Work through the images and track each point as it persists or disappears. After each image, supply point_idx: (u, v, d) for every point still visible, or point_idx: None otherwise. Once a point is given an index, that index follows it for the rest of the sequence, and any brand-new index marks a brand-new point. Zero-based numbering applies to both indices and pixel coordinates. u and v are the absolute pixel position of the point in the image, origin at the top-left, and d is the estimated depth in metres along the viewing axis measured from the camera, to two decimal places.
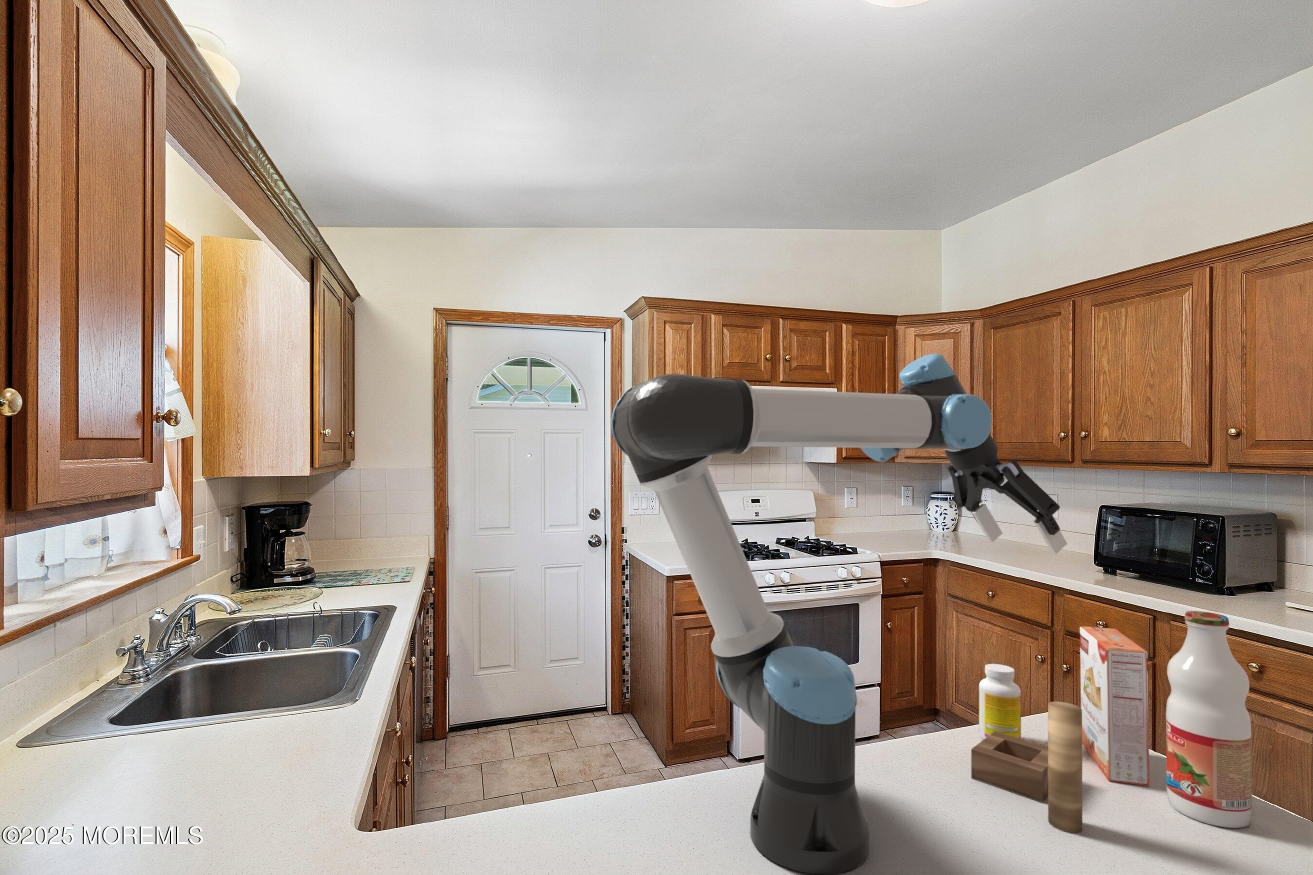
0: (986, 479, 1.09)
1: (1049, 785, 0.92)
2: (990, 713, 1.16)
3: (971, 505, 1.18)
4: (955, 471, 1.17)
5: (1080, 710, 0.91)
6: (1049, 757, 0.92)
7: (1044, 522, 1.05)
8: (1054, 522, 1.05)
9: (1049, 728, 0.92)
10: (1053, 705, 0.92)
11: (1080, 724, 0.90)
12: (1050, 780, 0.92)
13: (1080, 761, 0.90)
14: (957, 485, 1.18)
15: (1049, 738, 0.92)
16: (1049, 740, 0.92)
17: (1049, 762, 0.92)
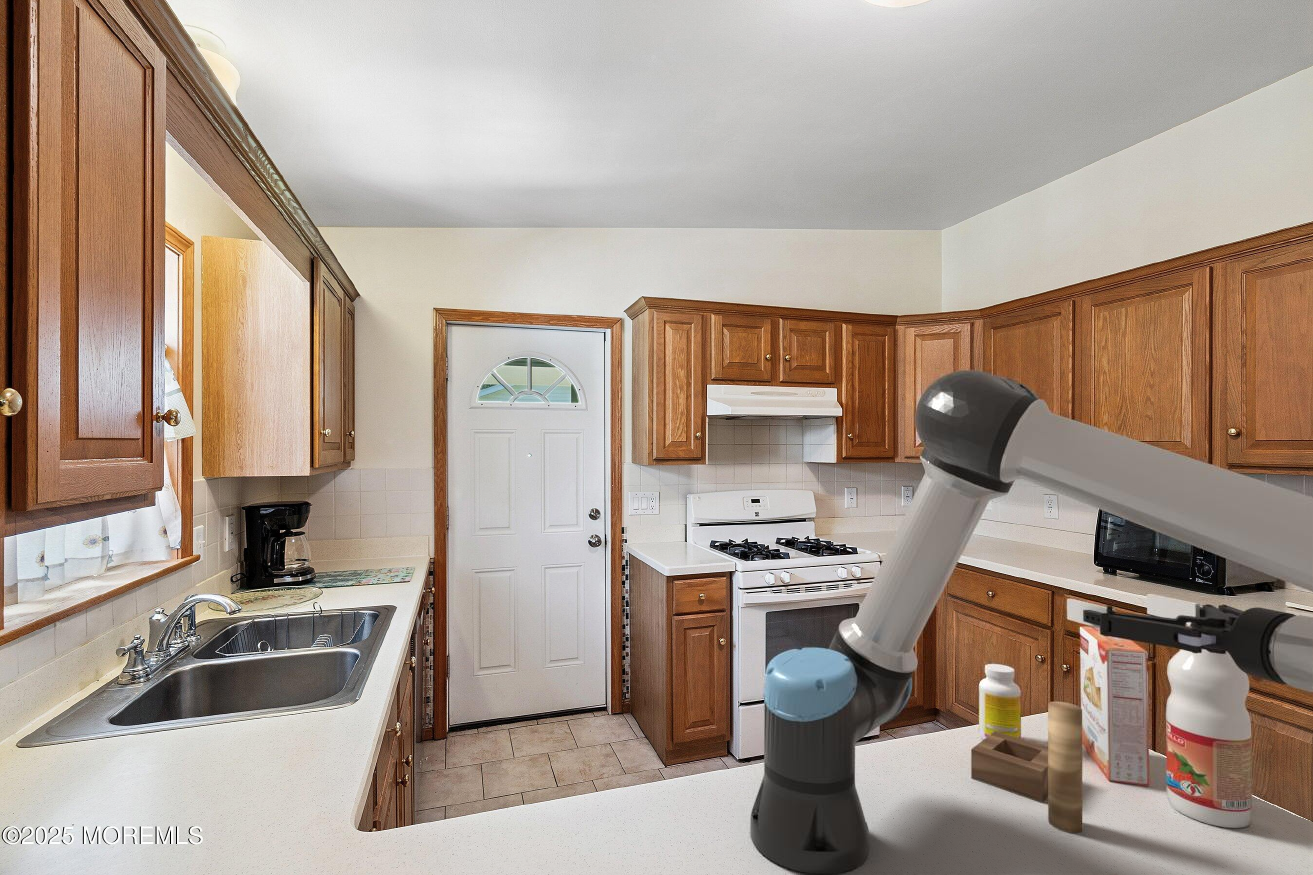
0: (1211, 618, 0.76)
1: (1049, 785, 0.92)
2: (990, 713, 1.16)
3: (1207, 608, 0.85)
4: None
5: (1081, 710, 0.91)
6: (1049, 757, 0.92)
7: None
8: (1093, 621, 0.84)
9: (1049, 728, 0.92)
10: (1053, 705, 0.92)
11: (1080, 724, 0.90)
12: (1050, 780, 0.92)
13: (1080, 761, 0.90)
14: None
15: (1049, 738, 0.92)
16: (1049, 740, 0.92)
17: (1049, 762, 0.92)
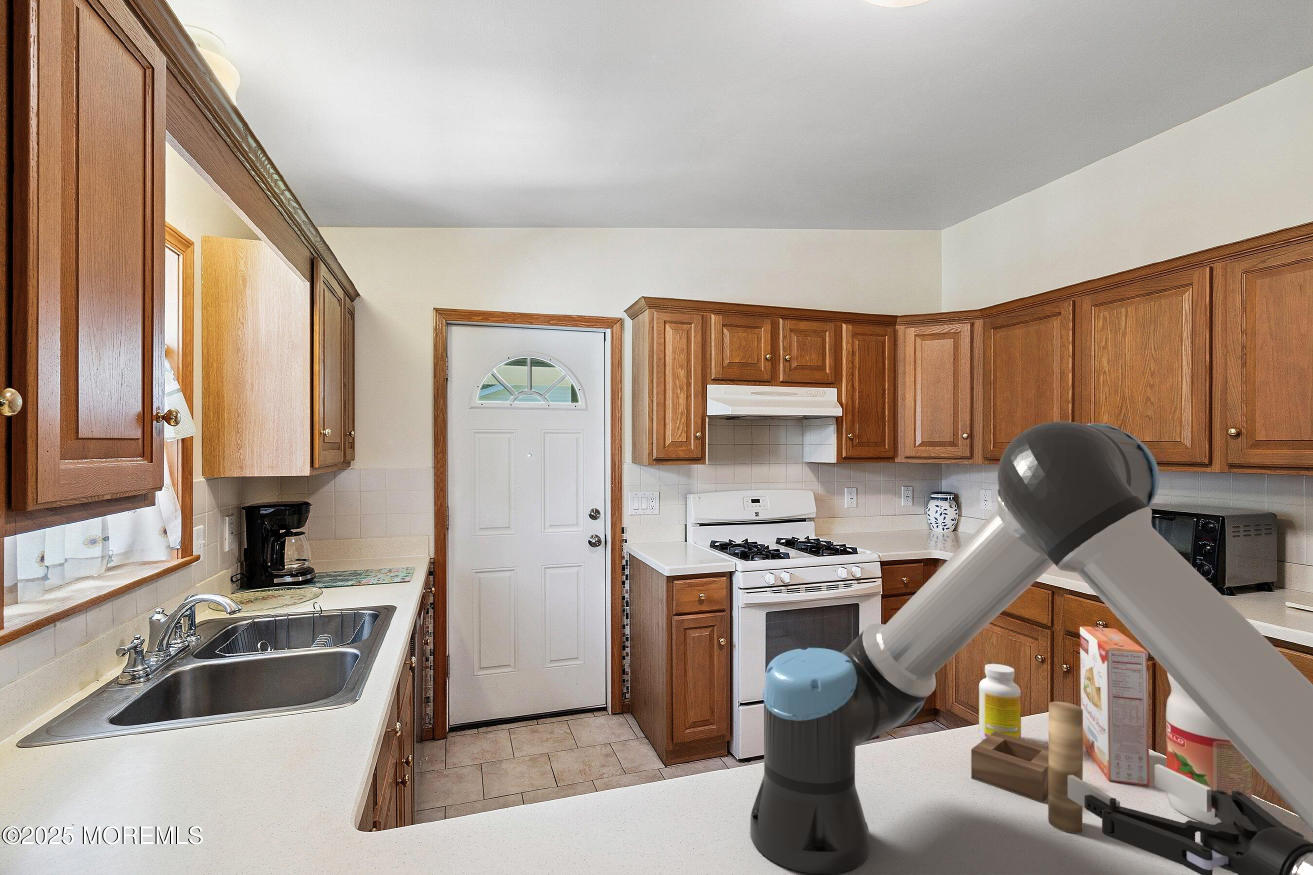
0: (1223, 831, 0.70)
1: (1049, 785, 0.92)
2: (990, 713, 1.16)
3: (1219, 797, 0.78)
4: None
5: (1081, 710, 0.90)
6: (1049, 757, 0.92)
7: (1106, 805, 0.77)
8: (1095, 811, 0.78)
9: (1050, 728, 0.92)
10: (1054, 705, 0.92)
11: (1081, 724, 0.90)
12: (1050, 780, 0.92)
13: (1081, 761, 0.90)
14: (1263, 815, 0.74)
15: (1050, 738, 0.92)
16: (1050, 740, 0.92)
17: (1049, 762, 0.92)
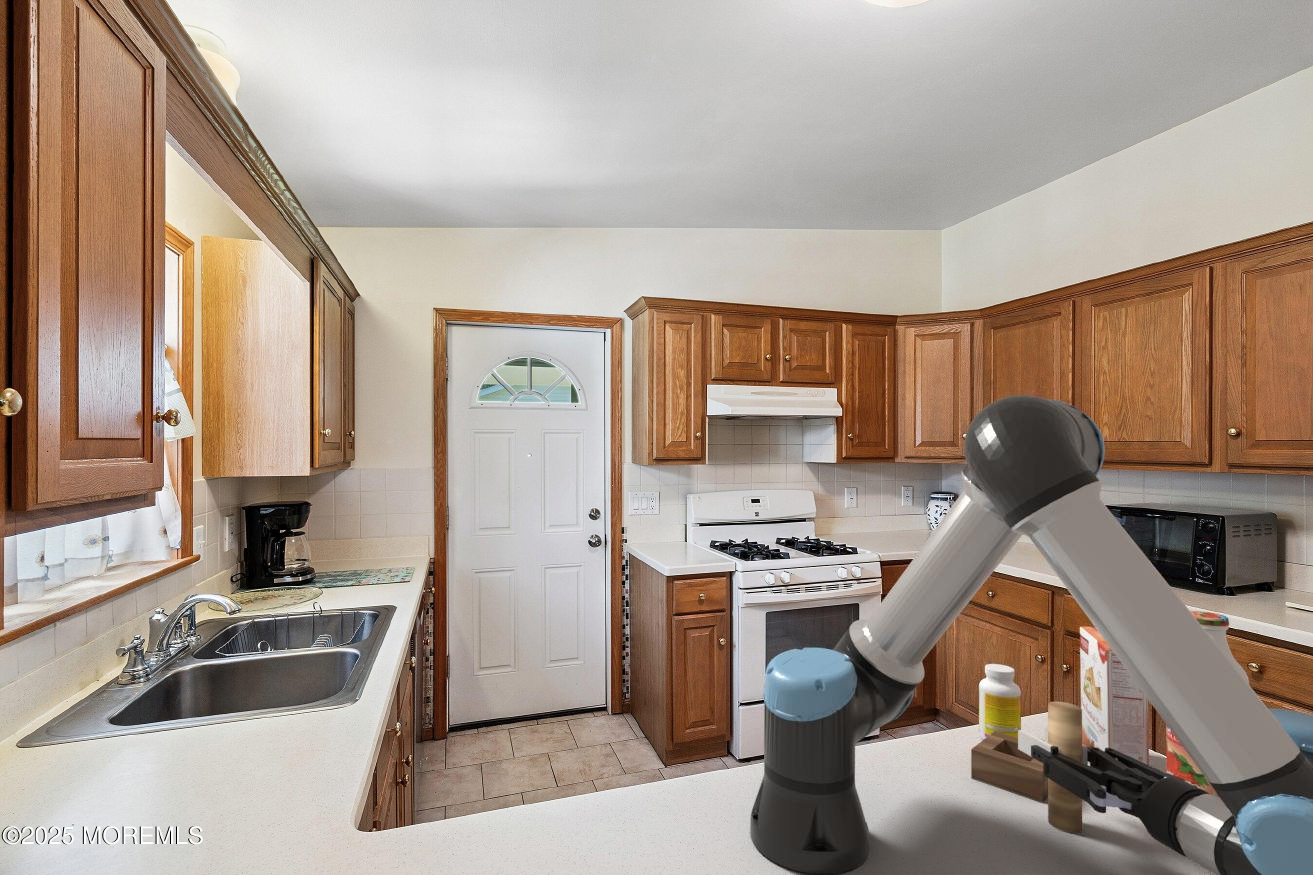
0: (1126, 780, 0.81)
1: (1049, 785, 0.92)
2: (990, 713, 1.16)
3: (1099, 754, 0.89)
4: None
5: (1080, 710, 0.91)
6: None
7: (1047, 752, 0.91)
8: (1039, 758, 0.91)
9: (1049, 728, 0.92)
10: (1053, 705, 0.92)
11: (1080, 724, 0.90)
12: (1050, 780, 0.92)
13: (1080, 761, 0.90)
14: (1145, 767, 0.85)
15: (1049, 738, 0.92)
16: (1049, 740, 0.92)
17: None
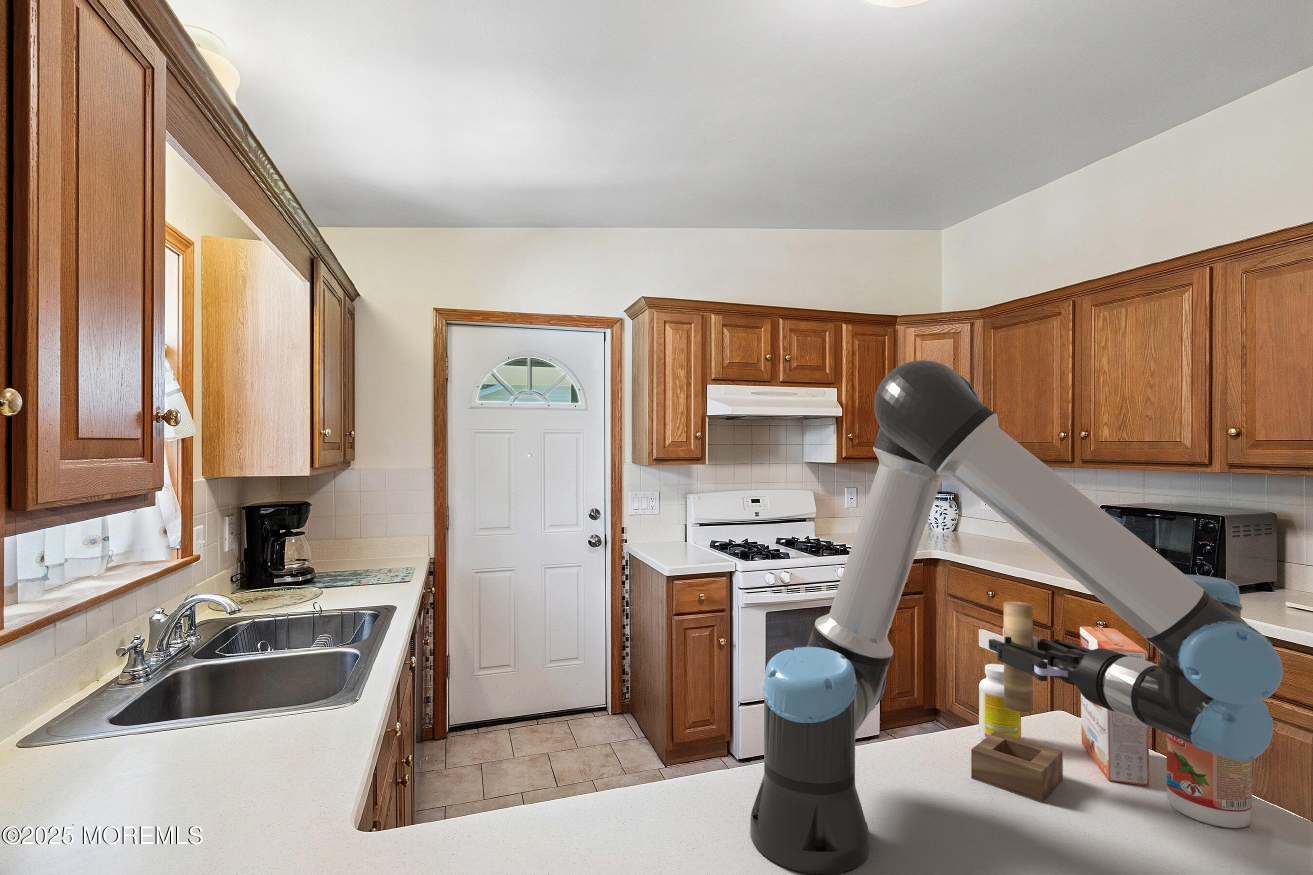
0: (1065, 655, 0.93)
1: (1004, 673, 1.05)
2: (990, 713, 1.16)
3: (1047, 642, 1.02)
4: None
5: (1031, 606, 1.03)
6: None
7: (1002, 643, 1.03)
8: (995, 649, 1.04)
9: (1004, 623, 1.05)
10: (1008, 603, 1.05)
11: (1030, 617, 1.03)
12: (1005, 669, 1.04)
13: None
14: (1085, 649, 0.98)
15: (1004, 632, 1.05)
16: (1004, 634, 1.05)
17: None
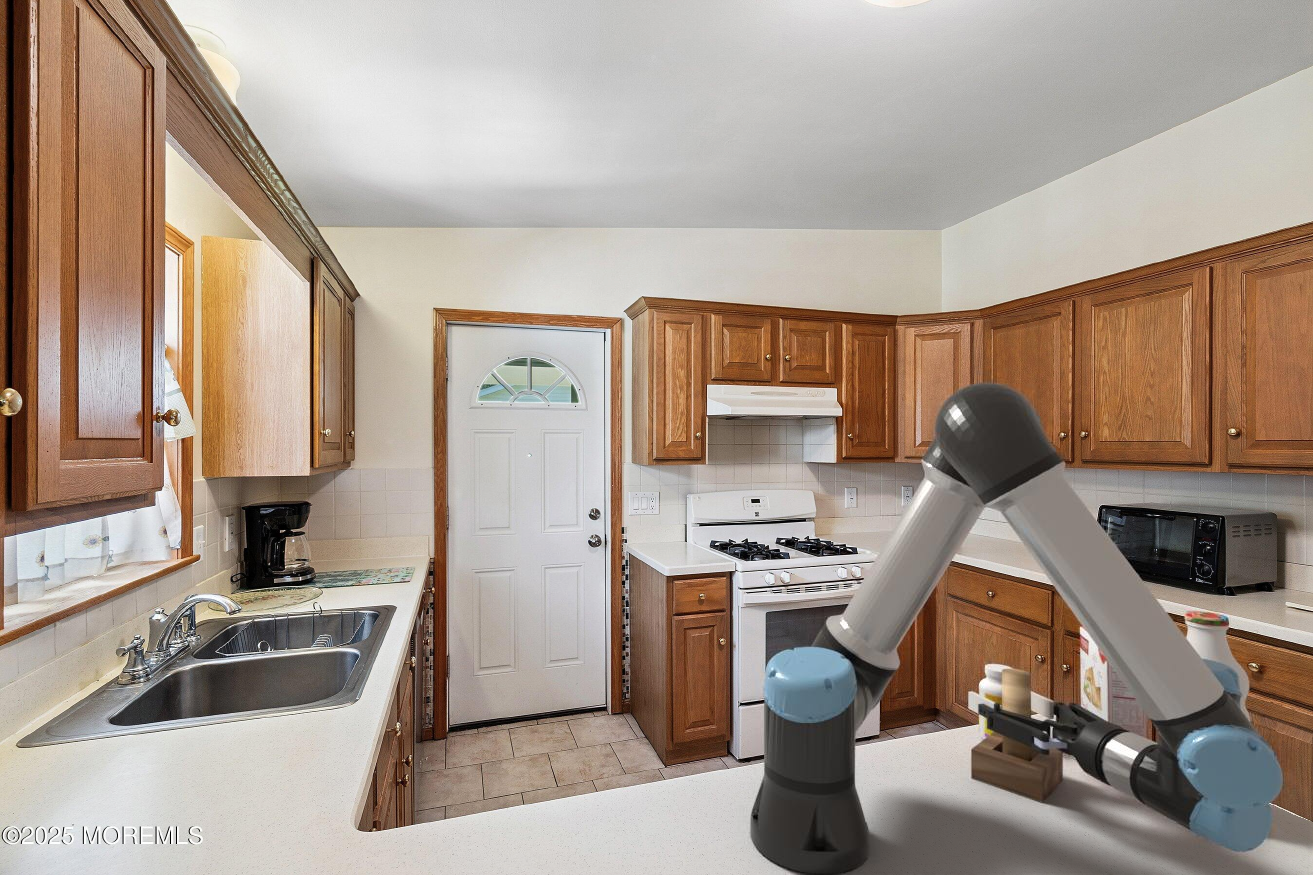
0: (1065, 725, 0.93)
1: (1003, 741, 1.05)
2: None
3: (1060, 706, 1.02)
4: None
5: (1029, 675, 1.03)
6: None
7: (992, 709, 1.02)
8: (984, 714, 1.02)
9: (1003, 691, 1.05)
10: (1006, 671, 1.05)
11: (1029, 687, 1.03)
12: (1004, 737, 1.04)
13: None
14: (1093, 717, 0.98)
15: (1003, 700, 1.05)
16: (1003, 702, 1.05)
17: None
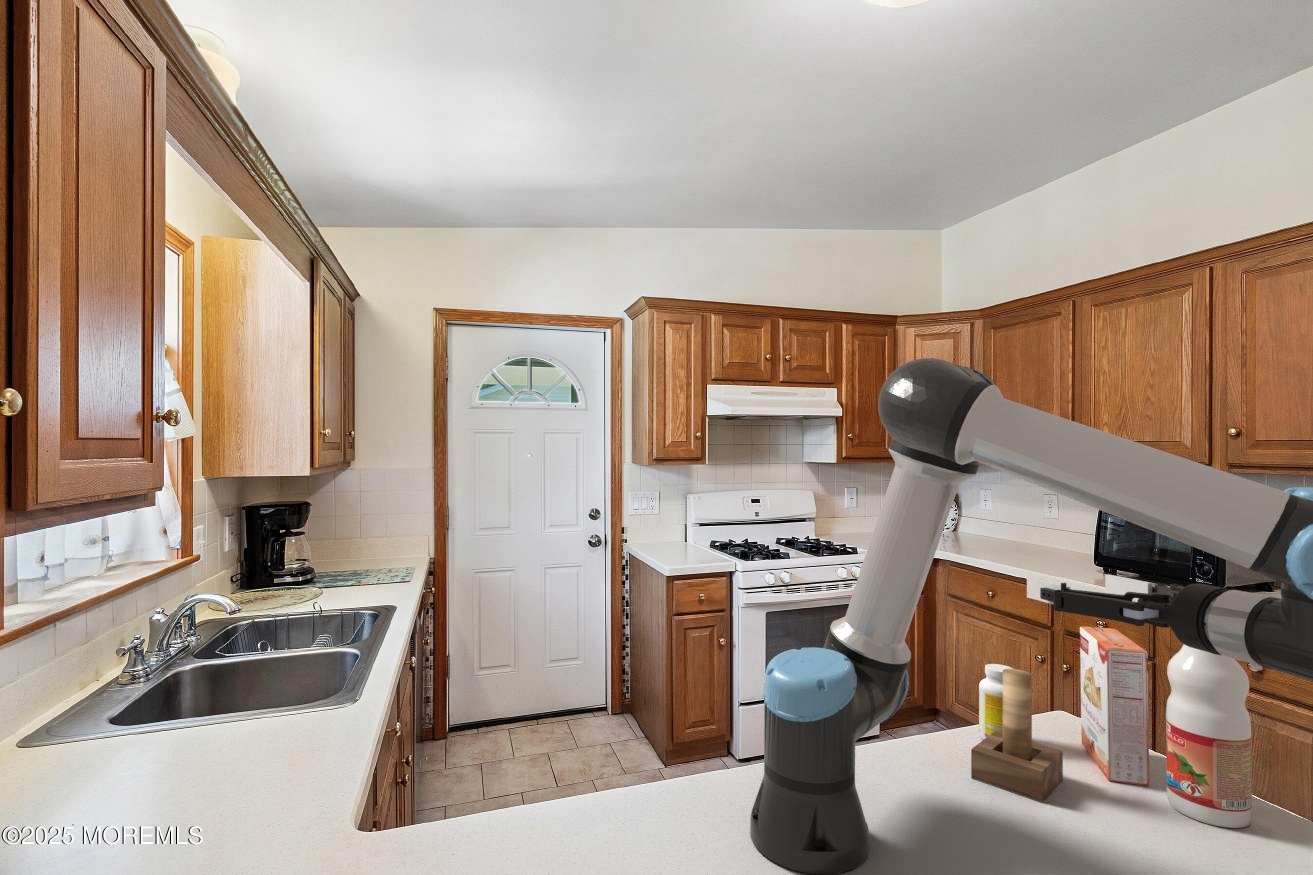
0: (1155, 594, 0.81)
1: (1003, 741, 1.05)
2: (990, 713, 1.16)
3: (1158, 586, 0.89)
4: None
5: (1030, 675, 1.03)
6: (1003, 717, 1.05)
7: None
8: (1049, 598, 0.89)
9: (1003, 691, 1.05)
10: (1007, 671, 1.05)
11: (1030, 687, 1.03)
12: (1004, 737, 1.04)
13: (1030, 720, 1.03)
14: None
15: (1003, 700, 1.05)
16: (1003, 702, 1.05)
17: (1003, 721, 1.05)
